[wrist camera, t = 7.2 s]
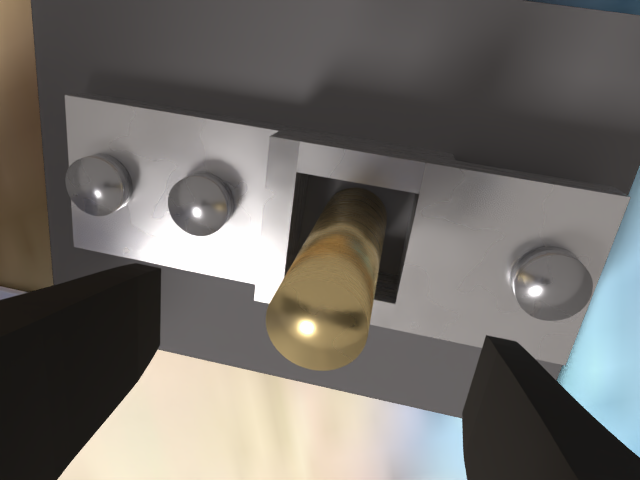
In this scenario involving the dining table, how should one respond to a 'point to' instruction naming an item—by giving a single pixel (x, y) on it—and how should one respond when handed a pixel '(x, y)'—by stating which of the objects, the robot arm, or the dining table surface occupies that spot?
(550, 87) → the dark grey backing panel
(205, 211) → the grey metal plate
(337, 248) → the brass pin
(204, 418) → the dining table surface
